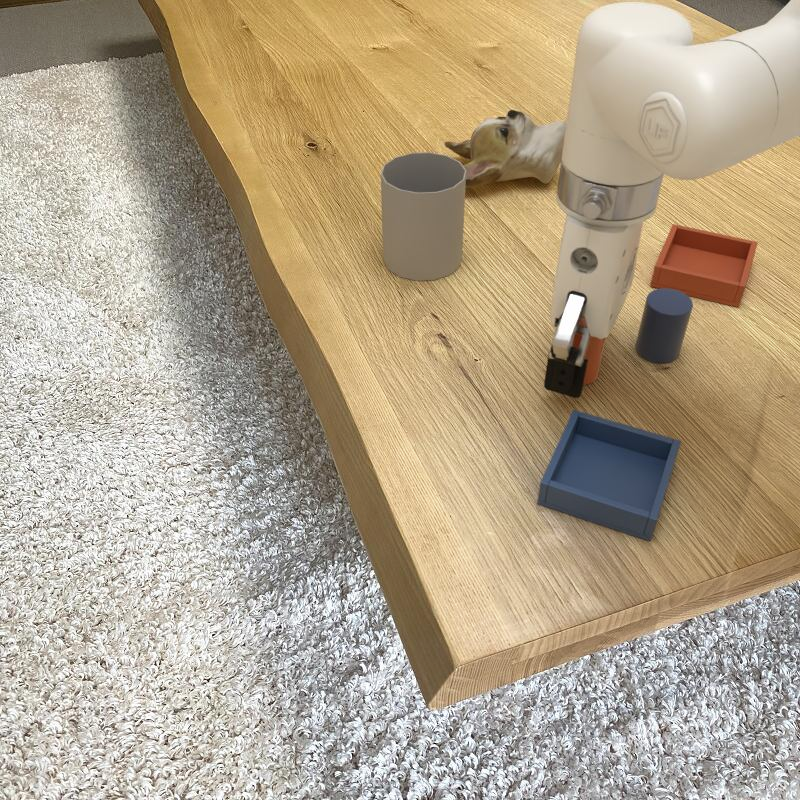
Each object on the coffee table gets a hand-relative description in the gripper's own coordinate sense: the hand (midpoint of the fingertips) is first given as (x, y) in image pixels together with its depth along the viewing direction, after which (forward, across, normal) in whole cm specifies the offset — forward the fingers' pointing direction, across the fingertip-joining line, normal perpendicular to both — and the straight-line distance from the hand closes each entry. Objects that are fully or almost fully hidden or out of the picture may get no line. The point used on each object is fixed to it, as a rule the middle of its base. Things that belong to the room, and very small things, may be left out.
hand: (577, 359), depth 75 cm
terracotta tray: (+1, +20, -8) cm, 21 cm away
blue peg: (+1, +6, -6) cm, 9 cm away
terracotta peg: (+1, 0, 0) cm, 1 cm away
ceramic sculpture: (+2, +31, +18) cm, 36 cm away
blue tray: (+1, -12, -6) cm, 13 cm away
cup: (+2, +11, +20) cm, 23 cm away
